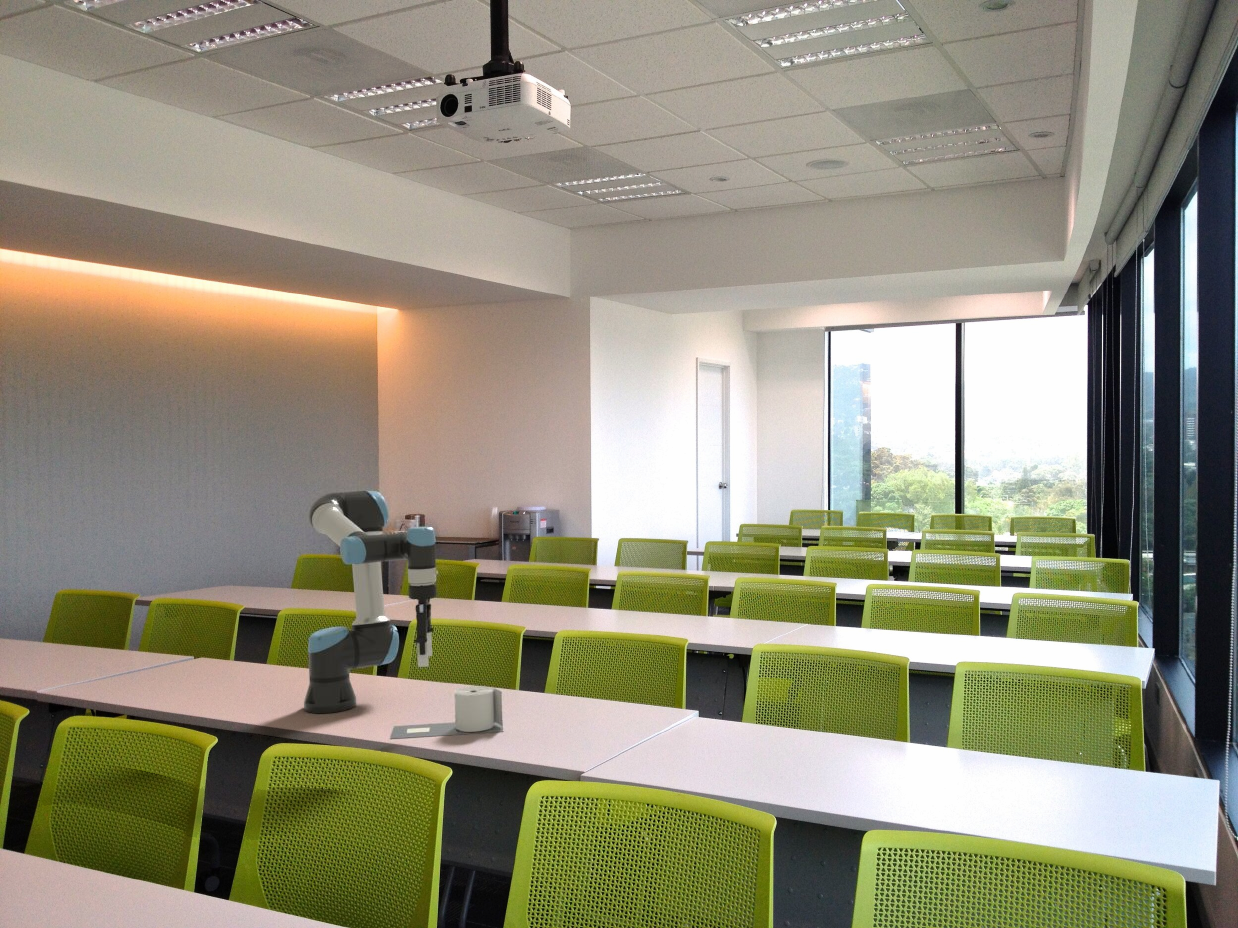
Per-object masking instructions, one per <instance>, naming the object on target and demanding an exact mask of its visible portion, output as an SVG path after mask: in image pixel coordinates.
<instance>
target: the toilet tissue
mask: <svg viewBox="0 0 1238 928" xmlns="http://www.w3.org/2000/svg"><path fill="white" fill-rule="evenodd" d="M453 692H454V719H455V721H454V722H455V727H456V729H457V730H460V731H464V732H476V731H483V730H487V729H490V728H492V727H493V726H494V722H495V723H498V724H500V725H501V726H503V727H504V724H503V725H502V720H503V702H502V701H503V698H502V697H503V695H502V694H503V693H502V691H501V690H499V689H497V688H496V687H495V688H494V687H490V686H484V685H479V686H478V685H474V686H472V685H471V686H465V687H461V688H458V689H455V690H454V691H453Z"/></svg>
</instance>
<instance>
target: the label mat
mask: <svg viewBox="0 0 1238 928" xmlns="http://www.w3.org/2000/svg"><path fill="white" fill-rule="evenodd" d="M502 725H503V726H501V725H500V724H498V723H495V722H494V726H493V727H492V728H490V729H487V730H483V731H476V732H464V731H460V730H457V729H456V727H455V721H454V722H442V723H441V722H440V723H424V724H423V723H422V724H421V723H420V724H407V725H405V724H404V725H395V726H393V728H392V731H391V735H390V738H389V739H390V740H395V739H411V738H412V739H413V738H425V737H426V738H427V737H442V736H456V735H457V736H459V735H474V734H488V733H489V734H491V733H492V734H493V733H504V721H503V719H502Z"/></svg>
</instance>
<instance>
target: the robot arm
mask: <svg viewBox="0 0 1238 928" xmlns="http://www.w3.org/2000/svg"><path fill="white" fill-rule="evenodd" d="M389 515H390V514H389V508H388V505H387V502H386V500H385V497H384V496H383V495H382V494H381V493H380V492H379V491H375V490H362V491H361V490H360V491H358V490H357V491H345V492H341V491H340V492H331V493H330V492H329V493H327V494H324V495H321V496H320V497H318V498H317V499H316V500H315V501H314V502H313V503H312V505H311V507H310V508H309V513H308V519H309V523H310V525H311V527H312V528H313V529H314V530H315V531H316V532H318V533H319V534H322V535H326V536H327V537H328V538H329V539H330V540H332V541H333V543H335V544H336V545H337V546H338V547H339V553H340V558H341V560H342V562H343V564H345V565H352V579H353V580H352V581H353V591H354V603H355V604H354V607H355V615H356V616H355V617H356V618H355V620H354V621H353V622H352V623H351V630H349V628H348V627H347V626H340V625H339V626H332V627H328V628H327V627H326V628H322V629H319V630H317V631H314V632H313V633H311V635H310V636H309V637H308V646H307V647H308V648H307V653H308V675H309V676H308V677H309V678H308V679H309V682H308V683H309V684H308V687H307V690H306V695H305V698H304V701H303V709H304V711H306V712H308V713H313V714H330V713H332V714H333V713H338V712H344V711H347V710H350V709H352V708H354V707H356V706H357V696H356V694H355V691H354V688H353V686H352V683H351V679H350V678H351V677H350V670H355V669H356V670H357V669H363V668H369V667H376V666H377V667H378V666H380V667H381V665H387V664H390V663H392V662H393V661H394V660H395V659H396V657H397V654H398V651H399V646H400V645H399V644H400V640H399V639H400V638H399V632H398V629H397V627H396V626H395V625H393V624H391V619H390V618H389V617H388V616H386V614H385V612H386V611H385V601H384V590H383V577H382V576H383V575H382V566H381V562H393V561H403V560H404V561H406V560H407V581H408V583H409V586H408V598H409V599H411V600H417V601H418V602H417V604H415V619H416V638H415V639H414V641H413V642H414V643H415V644H416V646H417V648H416V649H417V651H416V653H417V668H423V667H424V668H425V667H426V668H427V667H429V657H432V656H433V648H432V647H433V646H432V645H433V644H432V643H433V642H432V633H433V632H434V631H435V629H434V627H433V625H432V620H431V619H432V604H431V603H430V601H431V599H435V598H437V596H438V588H437V584H436V583H435V582H436V581H437V575H438V574H439V571H438V570H437V562H436V561H437V558H436V555H437V554H436V553H437V552H436V543H437V540H436V534H435V529H434V528H433V527H431V526H412V527H409V528H408V529H407V531H398V532H396V533H388V534H387V533H386V534H385V533H384V529H383V528H385V527H387V526H388V523H389V517H390V516H389Z"/></svg>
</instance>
